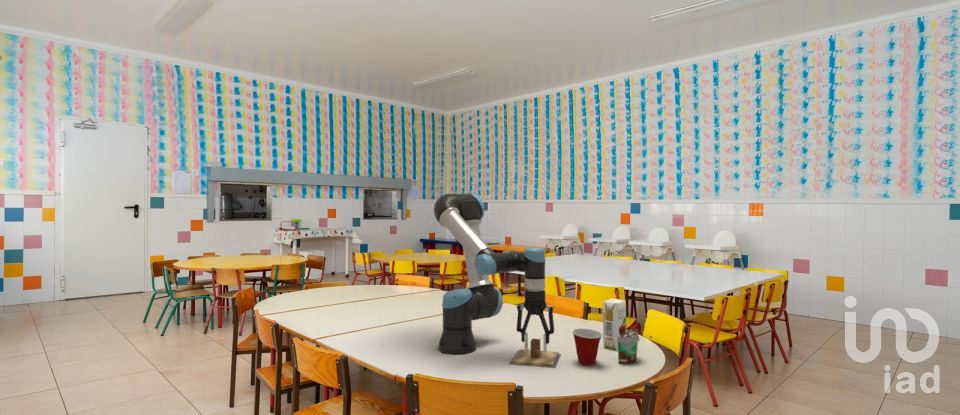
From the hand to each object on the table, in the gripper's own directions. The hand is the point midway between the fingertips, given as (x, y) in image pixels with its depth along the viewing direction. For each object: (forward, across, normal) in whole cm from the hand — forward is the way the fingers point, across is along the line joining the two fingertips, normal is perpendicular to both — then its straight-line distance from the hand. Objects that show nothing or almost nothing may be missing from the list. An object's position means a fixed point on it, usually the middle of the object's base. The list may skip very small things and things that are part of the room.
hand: (535, 351), depth 188 cm
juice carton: (+4, +28, +25) cm, 38 cm away
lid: (+3, 0, 0) cm, 3 cm away
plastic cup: (+4, +19, 0) cm, 19 cm away
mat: (+3, 0, 0) cm, 3 cm away
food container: (+4, +34, +8) cm, 35 cm away
